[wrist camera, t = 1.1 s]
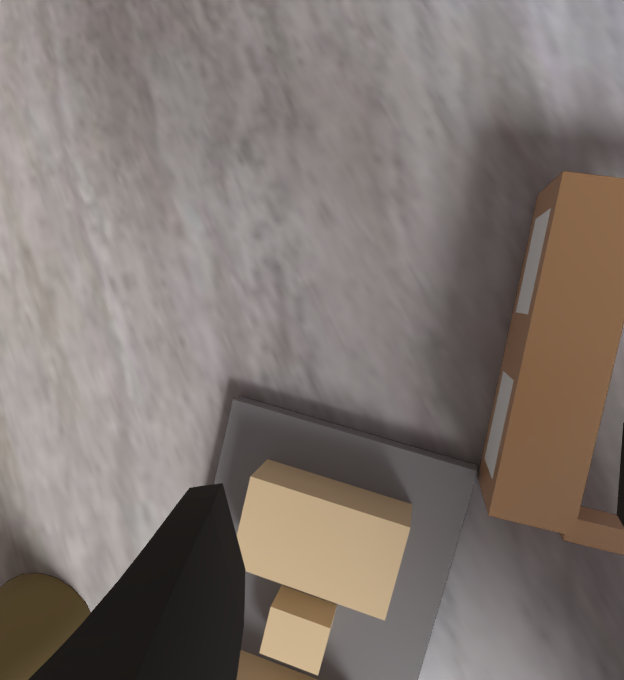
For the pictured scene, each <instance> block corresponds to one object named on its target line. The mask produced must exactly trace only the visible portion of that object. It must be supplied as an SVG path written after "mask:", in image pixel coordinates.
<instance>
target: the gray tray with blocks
mask: <svg viewBox="0 0 624 680" xmlns="http://www.w3.org/2000/svg"><path fill="white" fill-rule="evenodd" d="M477 473H478V470H477V466H476V465H475V464H471V463H468V462H464V461H461V460H458V459H454V458H451V457H447V456H444V455H440V454H437V453H434V452H430V451H427V450H423V449H420V448H416V447H413V446H410V445H406V444H403V443H399V442H396V441H393V440H389V439H386V438H382V437H379V436H375V435H372V434H369V433H365V432H362V431H358V430H355V429H351V428H348V427H345V426H341V425H338V424H334V423H331V422H327V421H324V420H321V419H317V418H314V417H310V416H307V415H303V414H300V413H297V412H293V411H290V410H286V409H283V408H279V407H276V406H273V405H269V404H266V403H262V402H259V401H256V400H252V399H249V398H245V397H242V396H238V397H236V398H234V399H233V401H232V405H231V410H230V414H229V419H228V423H227V428H226V432H225V436H224V441H223V445H222V450H221V454H220V459H219V463H218V468H217V472H216V477H215V481H214V484H219V483H223V486H224V490H225V494H226V497H227V501H228V505H229V509H230V513H231V516H232V520H233V524H234V528H235V532H236V535H237V539H238V543H239V547H240V551H241V554H242V558H243V562H244V566H245V611H244V629H243V637H242V644H241V651H240V658H239V666H238V673H237V680H418V678H419V674H420V671H421V667H422V664H423V660H424V657H425V653H426V650H427V646H428V643H429V640H430V636H431V633H432V629H433V626H434V622H435V619H436V615H437V612H438V608H439V605H440V601H441V598H442V594H443V591H444V587H445V584H446V581H447V577H448V574H449V570H450V567H451V563H452V560H453V556H454V553H455V549H456V546H457V542H458V539H459V535H460V532H461V528H462V525H463V522H464V518H465V515H466V511H467V508H468V504H469V501H470V497H471V494H472V490H473V487H474V483H475V480H476V476H477Z"/></svg>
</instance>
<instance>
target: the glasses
mask: <svg viewBox="0 0 624 680" xmlns="http://www.w3.org/2000/svg"><path fill="white" fill-rule="evenodd" d="M623 324H624V178H616V177H608V176H600V175H591V174H583V173H575V172H567V171H563V172H562V173H561V174H560V175H559V176H558V177H556V178H555V179H554V180H553V181H552V182H551V183H550V184H549V185H548V186H547V187H546V188H545V189H543V190H542V191H541V192H540V193H539V194H538V196H537V201H536V205H535V210H534V215H533V219H532V224H531V229H530V234H529V238H528V243H527V248H526V252H525V257H524V262H523V266H522V271H521V276H520V281H519V285H518V290H517V295H516V299H515V304H514V309H513V314H512V318H511V323H510V328H509V332H508V337H507V342H506V346H505V351H504V356H503V361H502V365H501V370H500V375H499V379H498V384H497V389H496V394H495V398H494V403H493V408H492V412H491V417H490V422H489V426H488V431H487V436H486V441H485V445H484V450H483V455H482V459H481V464H480V469H479V473H478V481H479V484H480V487H481V491H482V494H483V498H484V501H485V505H486V508H487V512H488V515H489V516H492V517H496V518H500V519H504V520H508V521H512V522H517V523H521V524H525V525H529V526H533V527H537V528H541V529H546V530H550V531H554V532H558V533H559V534H560V535H561V537H562V539H563V540H564V541H568V542H572V543H576V544H580V545H584V546H588V547H592V548H596V549H601V550H605V551H609V552H613V553H617V554H621V555H624V526H623V525H622V523H621V521H620V520H619V518H618V516H617V515H615V514H611V513H607V512H603V511H598V510H594V509H590V508H585V507H581V502H582V498H583V493H584V489H585V485H586V481H587V477H588V472H589V468H590V464H591V460H592V455H593V451H594V447H595V443H596V438H597V434H598V430H599V426H600V422H601V417H602V413H603V409H604V405H605V400H606V396H607V392H608V388H609V384H610V379H611V375H612V371H613V367H614V362H615V358H616V354H617V350H618V345H619V341H620V337H621V333H622V329H623Z"/></svg>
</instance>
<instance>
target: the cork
mask: <svg viewBox="0 0 624 680" xmlns="http://www.w3.org/2000/svg"><path fill="white" fill-rule="evenodd" d="M89 614H90V611H89V609H88V607H87V605H86V603H85V602H84V601H83V600H82V598H81V597H80V596H79V595H78V594H77V593H76V592H75V590H74V589H73V588H71V587H70V586H68V585H67V584H65V583H64V582H62V581H61V580H59V579H58V578H56V577H52V576H48V575H45V574H41V573H31V574H21V575H19V576H17V577H15V578H13V579H11V580H9V581H7V582H6V583H5V584H4V585H3V586H2V587H0V680H28V679H29V678H30V677H31V676H32V675H33V674H34V673H35V672H36V671H37V670H38V669H39V668H40V667H41V666H42V665H43V664H44V663H45V662H46V661H47V660H48V659H49V658H50V657H51V656H52V655H53V654H54V653H55V652H56V651H57V650H58V649H59V648H60V647H61V646H62V644H63V643H64V642H65V641H66V640H67V639H68V638H69V637H70V636H71V635H72V634H73V633H74V632H75V630H76V629H77V628H78V627H79V626H80V625H81V624H82V623H83V621H84V620H85V619H86V618H87V617H88V616H89Z"/></svg>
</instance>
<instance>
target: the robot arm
mask: <svg viewBox="0 0 624 680" xmlns="http://www.w3.org/2000/svg"><path fill="white" fill-rule="evenodd" d="M617 516H618V518H619V520H620V521H621V523H622V525H623V526H624V423H623V436H622V450H621V464H620V478H619V492H618V506H617ZM244 611H245V566H244V562H243V558H242V554H241V551H240V547H239V543H238V539H237V535H236V532H235V528H234V524H233V520H232V516H231V513H230V509H229V505H228V501H227V497H226V494H225V490H224V486H223V483H219V484H213V485H206V486H199V487H193V488H189V490H188V491H187V492H186V493H185V495H184V496H183V497H182V498H181V500H180V501H179V502H178V504H177V505H176V506H175V508H174V509H173V510H172V512H171V513H170V514H169V516H168V517H167V518H166V520H165V521H164V522H163V524H162V525H161V526H160V528H159V529H158V530H157V532H156V533H155V534H154V536H153V537H152V538H151V540H150V541H149V542H148V544H147V545H146V546H145V547H144V549H143V550H142V551H141V553H140V554H139V555H138V556H137V558H136V559H135V560H134V561H133V563H132V564H131V565H130V567H129V568H128V569H127V570H126V572H125V573H124V574H123V575H122V577H121V578H120V579H119V580H118V582H117V583H116V584H115V585H114V586H113V588H112V589H111V590H110V591H109V592H108V593H107V595H106V596H105V597H104V598H103V599H102V600H101V602H100V603H99V604H98V605H97V606H96V607H95V609H94V610H93V611H92V612H91V613H90V614H89V616H88V617H87V618H86V619H85V620H84V621H83V623H82V624H81V625H80V626H79V627H78V628H77V629H76V630H75V632H74V633H73V634H72V635H71V636H70V637H69V638H68V639H67V640H66V641H65V642H64V643H63V644H62V646H61V647H60V648H59V649H58V650H57V651H56V652H55V653H54V654H53V655H52V656H51V657H50V658H49V659H48V660H47V661H46V662H45V663H44V664H43V665H42V666H41V667H40V668H39V669H38V670H37V671H36V672H35V673H34V674H33V675H32V676H31V677H30V678H29V679H28V680H237V673H238V666H239V658H240V651H241V644H242V637H243V629H244Z"/></svg>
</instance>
